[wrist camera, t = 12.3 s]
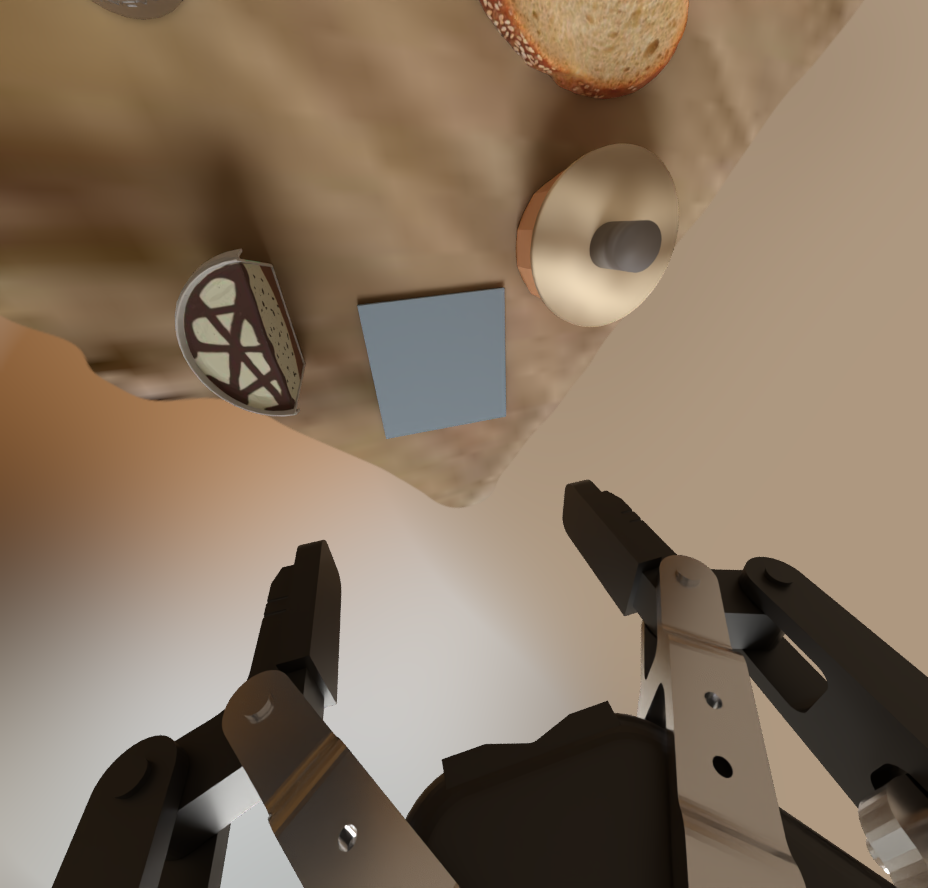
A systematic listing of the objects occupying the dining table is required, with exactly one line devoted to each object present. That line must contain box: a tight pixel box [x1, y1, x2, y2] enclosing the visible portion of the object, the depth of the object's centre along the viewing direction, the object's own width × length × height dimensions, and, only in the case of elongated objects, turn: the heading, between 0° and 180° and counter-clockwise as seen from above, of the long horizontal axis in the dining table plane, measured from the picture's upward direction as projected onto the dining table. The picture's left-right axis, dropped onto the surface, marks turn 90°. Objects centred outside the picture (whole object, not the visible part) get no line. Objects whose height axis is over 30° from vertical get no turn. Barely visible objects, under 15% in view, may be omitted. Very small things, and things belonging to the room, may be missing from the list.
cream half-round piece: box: [175, 249, 306, 416], centre depth 30 cm, size 12×6×10 cm, turn 5°
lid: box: [530, 143, 679, 327], centre depth 30 cm, size 14×14×5 cm
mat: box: [357, 287, 506, 439], centre depth 40 cm, size 15×15×1 cm
